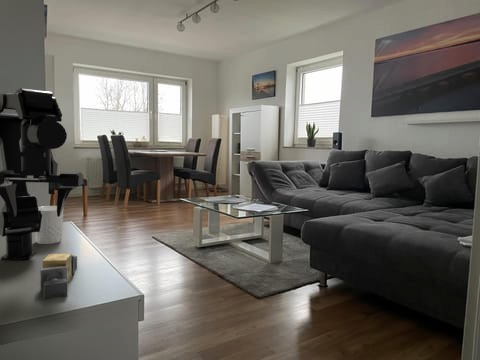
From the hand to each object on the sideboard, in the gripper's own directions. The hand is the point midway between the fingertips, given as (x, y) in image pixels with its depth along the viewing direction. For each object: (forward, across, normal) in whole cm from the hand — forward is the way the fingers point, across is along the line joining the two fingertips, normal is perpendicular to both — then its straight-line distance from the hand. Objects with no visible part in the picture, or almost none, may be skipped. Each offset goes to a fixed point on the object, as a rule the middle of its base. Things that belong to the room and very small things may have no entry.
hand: (36, 216), depth 82 cm
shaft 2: (+13, -6, 0) cm, 14 cm away
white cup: (+13, +5, -26) cm, 30 cm away
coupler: (+13, -6, +6) cm, 16 cm away
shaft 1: (+13, -7, +12) cm, 19 cm away
